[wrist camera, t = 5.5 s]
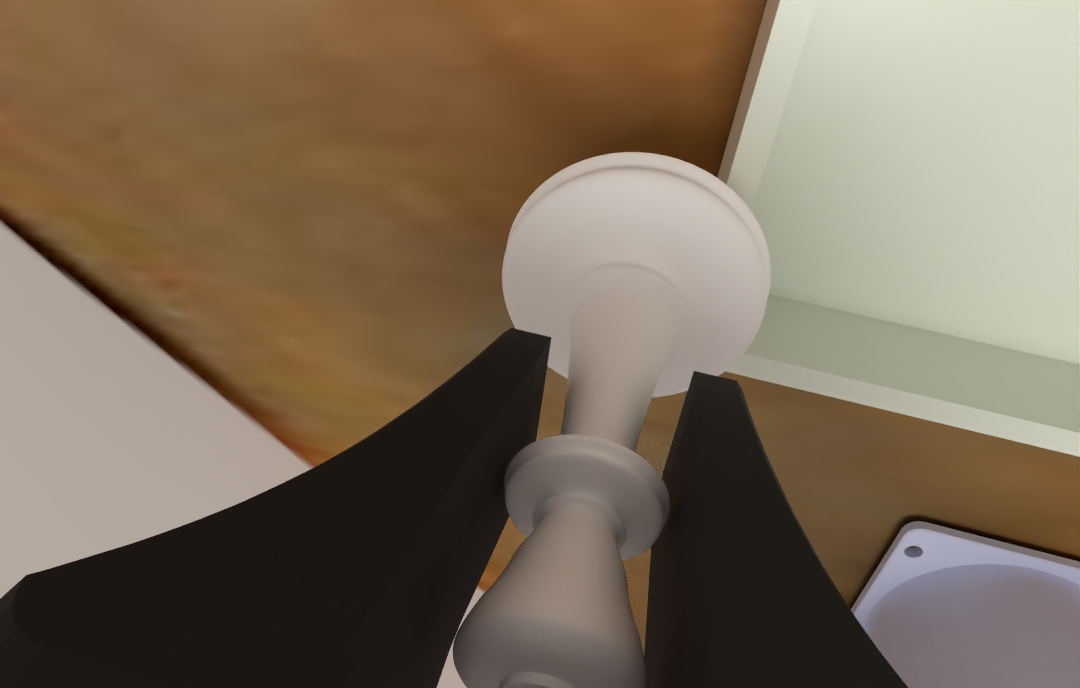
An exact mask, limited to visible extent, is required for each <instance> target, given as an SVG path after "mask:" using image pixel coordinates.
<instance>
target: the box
mask: <svg viewBox="0 0 1080 688" xmlns="http://www.w3.org/2000/svg"><path fill="white" fill-rule="evenodd" d="M717 178H718V179H719V180H721V181H722V182H724V183H725V184H726V185H727V186H728V187H730V188H731V189H732V190H733V191H734V192H735V193H736V194H737V195H738V196H739V197H740V198H741V199H742V200H743V201H744V203H745V204H746V205H747V206H748V208H749V209H750V210H751V212H752V213H753V215H754V216H755V218H756V220H757V221H758V223H759V225H760V227H761V229H762V232H763V234H764V237H765V239H766V243H767V246H768V250H769V255H770V262H771V284H770V291H769V296H768V299H767V304H766V309H765V314H764V317H763V320H762V323H761V326H760V328H759V330H758V332H757V334H756V336H755V338H754V340H753V341H752V343H751V345H750V346H749V347H748V349H747V350H746V351H745V353H744V354H743V355H742V356H741V357H740V358H739V359H738V360H737V361H736V362H735V363H734V364H733V365H732V366H731V367H730V368H729V369H727V370H726V371H725V372H730V373H734V374H738V375H742V376H746V377H750V378H755V379H759V380H763V381H767V382H771V383H775V384H779V385H784V386H788V387H792V388H796V389H800V390H804V391H809V392H813V393H817V394H821V395H825V396H829V397H834V398H838V399H842V400H846V401H850V402H854V403H858V404H863V405H867V406H871V407H875V408H879V409H883V410H888V411H892V412H896V413H900V414H904V415H908V416H913V417H917V418H921V419H925V420H929V421H933V422H937V423H942V424H946V425H950V426H954V427H958V428H962V429H967V430H971V431H975V432H979V433H983V434H987V435H992V436H996V437H1000V438H1004V439H1008V440H1012V441H1016V442H1021V443H1025V444H1029V445H1033V446H1037V447H1041V448H1046V449H1050V450H1054V451H1058V452H1062V453H1066V454H1071V455H1075V456H1079V457H1080V0H767V2H766V6H765V9H764V13H763V17H762V20H761V24H760V27H759V31H758V34H757V38H756V41H755V45H754V49H753V52H752V56H751V59H750V63H749V66H748V70H747V73H746V77H745V81H744V84H743V88H742V91H741V95H740V98H739V102H738V105H737V109H736V113H735V116H734V120H733V123H732V127H731V130H730V134H729V137H728V141H727V145H726V148H725V152H724V155H723V159H722V162H721V166H720V169H719V173H718V176H717Z"/></svg>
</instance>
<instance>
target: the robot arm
mask: <svg viewBox="0 0 1080 688" xmlns="http://www.w3.org/2000/svg"><path fill="white" fill-rule="evenodd" d="M550 344H551V337H548V336H544V335H540V334H536V333H531V332H527V331H523V330H519V329H514V328H511V329H509V330H507V331H506V332H504V333H503V334H502V335H501V336H500V337H498V338H497V339H496V340H495V341H494V342H493V343H492V344H491V345H489V346H488V347H487V348H486V349H485V350H484V351H483V352H482V353H480V354H479V355H478V356H477V357H476V358H475V359H473V360H472V361H471V362H470V363H469V364H467V365H466V366H465V367H464V368H462V369H461V370H460V371H459V372H458V373H456V374H455V375H454V376H453V377H451V378H450V379H449V380H447V381H446V382H445V383H444V384H442V385H441V386H440V387H438V388H437V389H436V390H434V391H433V392H432V393H431V394H429V395H428V396H427V397H425V398H424V399H423V400H421V401H420V402H419V403H417V404H416V405H414V406H413V407H411V408H410V409H408V410H407V411H406V412H404V413H403V414H401V415H400V416H398V417H397V418H395V419H394V420H392V421H391V422H389V423H388V424H386V425H385V426H384V427H382V428H381V429H379V430H378V431H376V432H375V433H373V434H371V435H370V436H368V437H367V438H365V439H363V440H362V441H360V442H358V443H357V444H355V445H353V446H352V447H350V448H348V449H347V450H345V451H343V452H342V453H340V454H338V455H336V456H334V457H333V458H331V459H329V460H327V461H325V462H324V463H322V464H320V465H318V466H316V467H314V468H313V469H311V470H309V471H307V472H305V473H303V474H301V475H299V476H297V477H295V478H293V479H291V480H289V481H287V482H285V483H282V484H280V485H278V486H276V487H274V488H272V489H269V490H268V491H265V492H263V493H261V494H259V495H257V496H255V497H252V498H250V499H248V500H246V501H244V502H241V503H239V504H237V505H234V506H232V507H229V508H227V509H224V510H222V511H220V512H217V513H215V514H212V515H209V516H207V517H204V518H202V519H199V520H197V521H194V522H191V523H189V524H186V525H183V526H181V527H178V528H175V529H172V530H170V531H167V532H164V533H161V534H159V535H156V536H153V537H150V538H147V539H144V540H141V541H138V542H135V543H132V544H129V545H126V546H123V547H119V548H116V549H113V550H110V551H106V552H103V553H100V554H97V555H93V556H91V557H87V558H84V559H80V560H77V561H74V562H71V563H67V564H64V565H61V566H57V567H54V568H51V569H47V570H44V571H41V572H36V573H33V574H29V575H26V576H25V577H24V578H23V579H22V580H21V581H19V582H18V583H17V584H16V585H15V586H14V587H13V588H12V589H11V590H9V592H7V593H6V594H5V595H4V596H3V597H2V598H1V599H0V688H436V687H437V685H438V682H439V679H440V676H441V673H442V670H443V667H444V664H445V661H446V658H447V656H448V652H449V650H450V647H451V645H452V642H453V640H454V637H455V635H456V633H457V630H458V628H459V625H460V623H461V620H462V618H463V616H464V614H465V612H466V609H467V607H468V605H469V603H470V600H471V598H472V596H473V594H474V592H475V590H476V588H477V585H478V583H479V581H480V579H481V577H482V574H483V572H484V570H485V568H486V566H487V564H488V561H489V559H490V557H491V555H492V553H493V550H494V548H495V546H496V544H497V542H498V539H499V537H500V535H501V533H502V531H503V528H504V526H505V524H506V522H507V520H508V517H509V513H508V511H507V508H506V503H505V489H504V479H505V473H506V470H507V467H508V465H509V464H510V462H511V460H512V459H513V458H514V456H515V455H516V454H517V453H518V452H519V451H520V450H522V449H523V448H524V447H526V446H528V445H529V444H531V443H533V442H535V441H536V437H537V430H538V424H539V417H540V410H541V404H542V397H543V390H544V384H545V377H546V371H547V364H548V357H549V351H550ZM662 480H663V481H664V483H665V485H666V488H667V490H668V494H669V499H670V512H669V516H668V519H667V522H666V524H665V526H664V527H663V529H662V530H661V533H660V535H659V537H658V539H657V540H656V541H655V543H654V544H653V545H652V546H651V561H650V576H649V591H648V607H647V623H646V639H645V655H644V661H645V666H646V675H647V688H1080V562H1079V561H1075V560H1071V559H1067V558H1063V557H1059V556H1056V555H1052V554H1048V553H1044V552H1040V551H1036V550H1032V549H1028V548H1024V547H1021V546H1017V545H1013V544H1009V543H1005V542H1001V541H997V540H993V539H989V538H986V537H982V536H978V535H974V534H970V533H966V532H962V531H958V530H954V529H951V528H947V527H943V526H939V525H935V524H931V523H927V522H921V521H915V522H911V523H908V524H906V525H905V526H904V527H903V528H902V529H901V530H900V532H899V534H898V535H897V537H896V538H895V540H894V542H893V543H892V545H891V546H890V548H889V550H888V551H887V553H886V554H885V556H884V557H883V559H882V561H881V562H880V564H879V565H878V567H877V569H876V570H875V572H874V573H873V575H872V577H871V578H870V580H869V581H868V583H867V584H866V586H865V588H864V589H863V591H862V592H861V594H860V596H859V597H858V599H857V600H856V602H855V604H854V605H853V607H852V608H851V609H850V608H849V606H848V605H847V603H846V602H845V600H844V599H843V597H842V596H841V594H840V593H839V591H838V589H837V588H836V586H835V585H834V583H833V582H832V580H831V578H830V577H829V575H828V573H827V572H826V570H825V568H824V567H823V565H822V563H821V562H820V560H819V558H818V557H817V555H816V553H815V551H814V550H813V548H812V546H811V544H810V542H809V540H808V539H807V537H806V535H805V533H804V531H803V530H802V528H801V526H800V524H799V522H798V520H797V518H796V516H795V515H794V513H793V511H792V509H791V507H790V505H789V503H788V501H787V499H786V497H785V494H784V492H783V490H782V488H781V486H780V484H779V482H778V480H777V477H776V475H775V473H774V471H773V469H772V467H771V465H770V462H769V460H768V458H767V455H766V453H765V451H764V448H763V446H762V443H761V441H760V438H759V436H758V433H757V431H756V429H755V426H754V423H753V421H752V418H751V415H750V412H749V410H748V407H747V404H746V401H745V398H744V395H743V392H742V389H741V387H740V386H739V384H738V382H737V381H735V380H731V379H727V378H722V377H718V376H714V375H710V374H705V373H701V372H697V371H694V372H693V375H692V378H691V382H690V385H689V388H688V392H687V395H686V398H685V402H684V405H683V408H682V412H681V415H680V418H679V422H678V425H677V428H676V432H675V435H674V438H673V442H672V445H671V448H670V452H669V455H668V458H667V462H666V465H665V468H664V471H663V477H662ZM910 546H917V547H914V548H908V547H910Z"/></svg>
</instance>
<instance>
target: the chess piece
mask: <svg viewBox="0 0 1080 688" xmlns="http://www.w3.org/2000/svg"><path fill="white" fill-rule="evenodd" d="M770 284H771V262H770V255H769V250H768V246H767V243H766V239H765V237H764V234H763V232H762V229H761V227H760V225H759V223H758V221H757V220H756V218H755V216H754V215H753V213H752V212H751V210H750V209H749V208H748V206H747V205H746V204H745V203H744V201H743V200H742V199H741V198H740V197H739V196H738V195H737V194H736V193H735V192H734V191H733V190H732V189H731V188H730V187H728V186H727V185H726V184H725V183H724V182H722V181H721V180H719V179H718V178H716V177H715V176H713V175H712V174H710V173H709V172H707V171H705V170H703V169H701V168H699V167H697V166H695V165H693V164H690V163H688V162H685V161H682V160H680V159H676V158H673V157H669V156H665V155H659V154H654V153H644V152H620V153H611V154H605V155H600V156H596V157H592V158H589V159H585V160H582V161H580V162H577V163H575V164H572V165H570V166H568V167H567V168H565V169H563V170H561V171H559V172H558V173H556V174H555V175H553V176H552V177H550V178H549V179H548V180H546V181H545V182H544V183H543V184H541V185H540V186H539V187H538V188H537V189H536V190H535V191H534V192H533V193H532V194H531V196H530V197H529V198H528V199H527V200H526V202H525V203H524V205H523V206H522V208H521V209H520V211H519V213H518V214H517V216H516V218H515V220H514V222H513V225H512V228H511V230H510V233H509V237H508V241H507V247H506V251H505V255H504V260H503V268H502V287H503V294H504V300H505V303H506V307H507V310H508V313H509V315H510V318H511V320H512V322H513V324H514V326H515V328H516V329H519V330H523V331H527V332H531V333H536V334H540V335H544V336H548V337H551V344H550V351H549V357H548V364H547V366H549V367H550V368H551V369H553V370H554V371H555V372H557V373H559V374H560V375H562V376H563V377H565V378H567V390H566V399H565V409H564V417H563V423H562V429H561V435H557V436H551V437H547V438H543V439H540V440H538V441H535V442H533V443H531V444H529V445H528V446H526V447H524V448H523V449H522V450H520V451H519V452H518V453H517V454H516V455H515V456H514V458H513V459H512V460H511V462H510V464H509V465H508V467H507V470H506V473H505V479H504V489H505V503H506V508H507V511H508V513H509V515H510V517H511V519H512V521H513V522H514V524H515V525H516V527H517V528H518V529H519V530H520V531H521V532H522V533H523V534H524V535H525V536H526V537H527V538H526V540H525V541H524V542H523V543H522V544H521V545H520V546H519V548H518V549H517V550H516V552H515V553H514V555H513V557H512V559H511V560H510V562H509V564H508V565H507V567H506V568H505V570H504V571H503V572H502V574H501V575H500V576H499V578H498V579H497V580H496V581H495V583H494V584H493V585H492V586H491V587H490V588H489V589H488V590H487V591H486V592H485V593H484V594H483V595H482V596H481V598H480V599H479V600H478V602H477V603H476V604H475V606H474V607H473V609H472V610H471V611H470V613H469V614H468V615H467V617H466V618H465V620H464V622H463V623H462V625H461V627H460V629H459V630H458V632H457V635H456V637H455V640H454V646H453V659H454V664H455V667H456V669H457V672H458V674H459V676H460V678H461V679H462V681H463V683H464V684H465V685H466V687H467V688H647V675H646V666H645V661H644V655H643V650H642V646H641V641H640V637H639V633H638V631H637V628H636V626H635V623H634V619H633V615H632V611H631V606H630V602H629V596H628V585H627V578H626V574H625V570H624V566H623V563H622V561H624V560H627V559H630V558H633V557H635V556H637V555H639V554H641V553H643V552H644V551H646V550H647V549H648V548H650V547H651V546H652V545H653V544H654V543H655V541H656V540H657V539H658V537H659V535H660V533H661V530H662V529H663V527H664V526H665V524H666V522H667V519H668V516H669V512H670V499H669V494H668V490H667V488H666V485H665V483H664V481H663V480H662V478H661V476H660V475H659V474H658V472H657V471H656V470H655V469H654V468H653V467H652V466H651V465H650V464H649V463H648V462H647V461H646V460H645V459H643V458H642V457H641V456H639V455H638V454H637V453H635V449H636V445H637V442H638V438H639V435H640V431H641V428H642V425H643V423H644V420H645V417H646V414H647V410H648V407H649V404H650V402H651V399H652V398H653V397H662V396H669V395H673V394H678V393H682V392H685V391H688V388H689V385H690V382H691V378H692V375H693V372H694V371H697V372H701V373H705V374H710V375H714V376H719V375H720V374H722V373H723V372H725V371H726V370H727V369H729V368H730V367H731V366H732V365H733V364H734V363H735V362H736V361H737V360H738V359H739V358H740V357H741V356H742V355H743V354H744V353H745V351H746V350H747V349H748V347H749V346H750V345H751V343H752V341H753V340H754V338H755V336H756V334H757V332H758V330H759V328H760V326H761V323H762V320H763V317H764V314H765V309H766V304H767V299H768V296H769V291H770Z"/></svg>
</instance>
